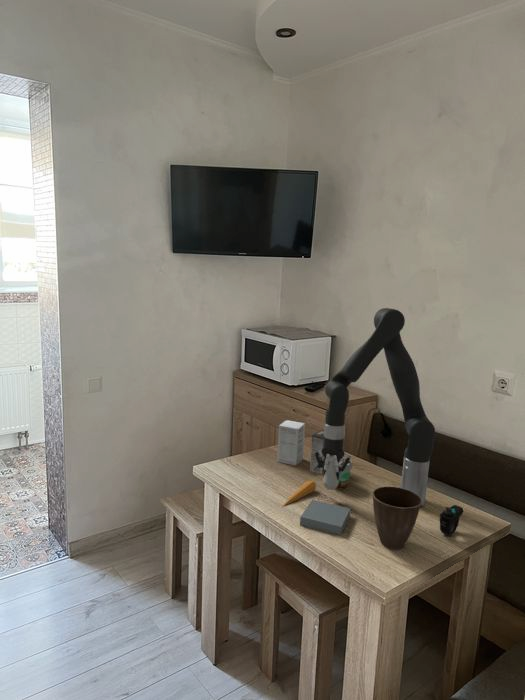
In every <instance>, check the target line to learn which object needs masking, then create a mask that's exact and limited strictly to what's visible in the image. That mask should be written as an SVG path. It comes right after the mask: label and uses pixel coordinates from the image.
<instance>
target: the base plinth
mask: <svg viewBox="0 0 525 700" xmlns="http://www.w3.org/2000/svg"><path fill="white" fill-rule="evenodd" d="M350 516H351V508H350V507H346V506H341V505H337V504H332V503H330V502H329V503H328V502H325V501H320V500H315V499H311V501H310V502H309V503H308V505H307V506H306V508H305V510H304V511H303V512H302V514H301V515H300V517H299V518H300V520H299V526H301V527H306V528H310V529H314V530H318V531H321V532H322V531H323V532H326V533H330V534H334V535H338V536H341V535H342V533H343V531H344V529H345V527H346V525H347V523H348V521H349V520H350V519H349V518H350Z"/></svg>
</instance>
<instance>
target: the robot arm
mask: <svg viewBox="0 0 525 700" xmlns="http://www.w3.org/2000/svg"><path fill="white" fill-rule="evenodd" d="M405 321H406V320H405V316H404V314H403V313H402V312H401V311H400V310H398V309H395V308H389V307H385V308H383V307H382V308H380V309H378V310H377V312H375V314H374V317H373V324H374V327H375V330H374V331H373V333H372V334H371V335H370V337H369V338H368V339H367V340H366V341H365V342H364V343H363V344H362V345H360V347H359V348H357V350H356V351H354V352H353V354H352V355H351V356H350V357H349V359H348V360H347V361H346V362H345V364H344V365H343V366H342V368H341V369H340V370H339V371H338V372H337V373H336V374H334V376H332V377H331V379H329V380H328V382H327V384H326V385H325V389H324V392H325V395H326V397H327V398H328V399H329V404H328V405H329V406H328V408H326V411H325V418H324V420H325V421H324V426H323V427H324V428H323V430H324V439H323V449H322V450H321V451H316V452H315V456H316V459H317V462H318V465H319V467H320V468H323V469H324V474H323V476H324V475H325V473H326V472H325V471H326V470H327V467H328V462H329V461H328V460H327V459H328V458H329V457H330V455H332V456H333V457H334V459H335V461H334V465H335V470H336V477H337V480H338V479H339V475H340V471H342V472H343V471H344V469H345V467H346V466H347V464H348V462H349V461H350V460H351V459H352V456H350V455H347V454H345V449H344V447H345V432H346V427H345V421H346V412H347V408H348V404H349V398H350V393H349V389H348V387H349V386H350V385H351V384H352V383H356V382H358V380H360V378H361V377H362V375H364V372H365V371H366V370H367V369H368V367H369V365H371V363H372V362H373V361H374V359H375V358H376V357H377V356H378V354H380V352H381V351H382V350H383V351H384V355H385V359H386V363H387V366H388V371H389V375H390V378H391V382H392V385H393V387H394V391H395V393H396V396H397V399H398V401H399V403H400V406H401V411H402V414H403V420H404V425H405V430H406V433H407V434H408V440H407V447H406V448H405V449H404V453H403V454H404V456H403V461H402V462H403V465H402V472H401V473H402V474H401V483H400V488H403V489H406V490H409V491H411V492H413V493H415V494H417V495H418V496H419V497H420V498H421V505H420V507H425V503H426V495H427V488H428V478H429V468H430V462H431V461H430V460H431V456H432V455H433V451H434V445H435V439H436V438H435V437H436V427H435V426H434V423H432V421H431V420H430V419H429V418H428V417H427V415H426V412H425V410H424V407H423V404H422V400H421V396H420V395H421V389H420V388H421V386H420V380H419V375H418V373H417V369H416V367H415V363H414V360H413V359H412V357H411V355H410V353H409V352H408V350H407V348H406V346H405V344H404V343H403V340H402V337H401V333H400V332H401V331H402V330H403V328H404V326H405V324H406V323H405ZM322 454H323V456H324V457H325V459H326V460H325V464H324V463H323V460H322V457H321V456H322ZM342 459H344V461H345V462H344V464H343V466H342V467H340V461H341V460H342Z"/></svg>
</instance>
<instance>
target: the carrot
mask: <svg viewBox="0 0 525 700" xmlns="http://www.w3.org/2000/svg"><path fill="white" fill-rule="evenodd" d="M316 489H317V485H316V483H315V481H314V480H307V481H306V482H305V483H304V484H303V485H301V487H300V488H299V489H297V491H295V492H294V493H293V494H292V495H291V496H290V497H289V498H288V499H287V500H286V502H284V504H283V505H282V507H284V506H288V505H289V504H291V503H293V502H295V501H297V500H299V499H301V498H302V497H305V496H307V495H308V494H311V493H313V492H314V491H315V490H316Z"/></svg>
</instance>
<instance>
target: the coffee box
mask: <svg viewBox="0 0 525 700" xmlns="http://www.w3.org/2000/svg"><path fill="white" fill-rule="evenodd" d="M323 439H324V429H321V430H319V431H317V432H315V433H313V434H312V436H311V448H310V449H311V451H310V463H309V464H310V465H309V471H311V472H314V473H316V474H320V475H324V469H323V468H320V467H319V465H318V462H317V459H316V456H315V452H316V451H321V450H322V449H323ZM321 457H322V460H323V463H324V464H325V460H326V459H325V457H324V456H323V454H322V456H321Z"/></svg>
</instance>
